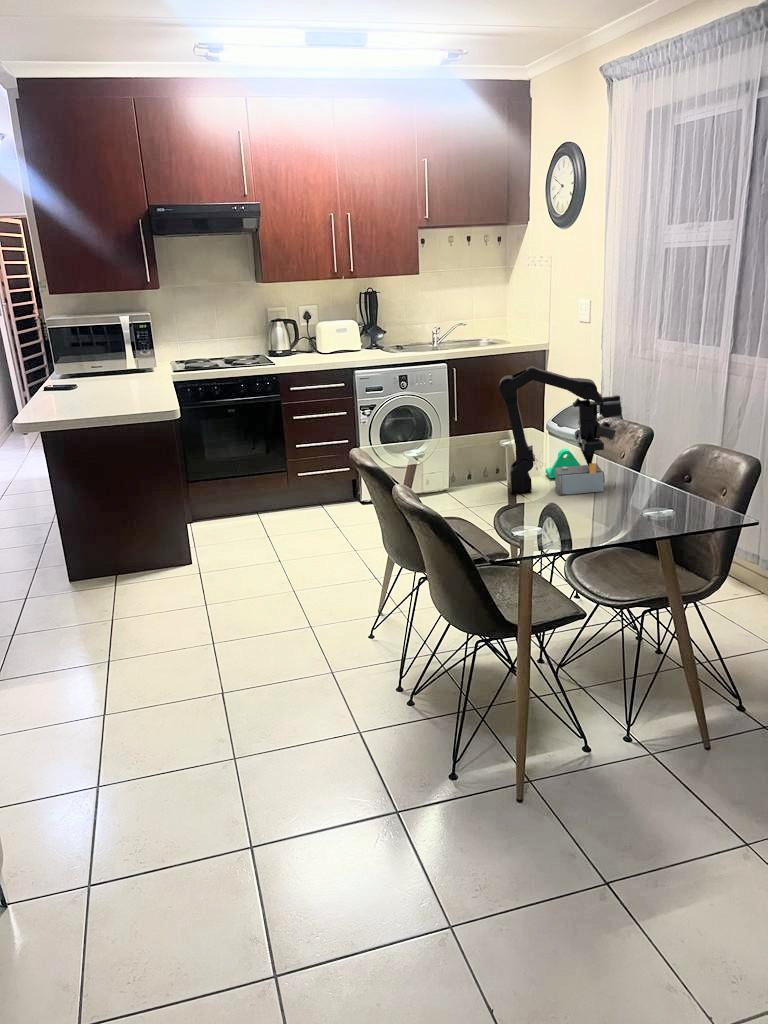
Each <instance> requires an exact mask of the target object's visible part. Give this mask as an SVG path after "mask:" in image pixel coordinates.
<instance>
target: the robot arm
mask: <svg viewBox="0 0 768 1024" xmlns="http://www.w3.org/2000/svg"><path fill="white" fill-rule="evenodd" d="M532 381H535V382H538V383H541V384H544V385H547V386H552V387H555V388H559V389H562V390H566V391H567V392H569V393H572V394H573V395H574V396H576V397H577V398H576V400H575V401H573V403H572V406H573V407H574V408H578V420H577V422H578V424H577V425H578V427H579V428H578V429H577V430H575V432H574V440H577V441H578V440H580V442H577V444H578V447H579V449H580V451H581V453H582V456H583V457H584V459H585V461H586V465H589V464H591V463H593V459H594V456H595V452H596V451H603V450H605V444H604V442H603V441H602V440H601V437H602V438H605V439H608V440H611V441H613V440H614V438H615V435H616V432H617V430H616V429H615V428H614V427H612V426H611V425H610V423H609V422H607V421H603V423H600V422H599V421H598V414H599V416H601V417H602V418H603V419H604V418H605V419H606V418H608V419H609V418H621V417H622V412H623V410H622V408H623V407H622V403H621V396H620V395H613V396H603V395H602V393H600V392H599V391H598V386H597V385H596V383H595V381H593V380H592V379H590V378H581V377H569V376H567V375H563V374H559V373H554V372H552V371H548V370H545V369H541V368H538V367H536V366H535V365H530V366H528V367H527V368H524V369H522V370H520V371H519V372H516V373H514V374H512V375H505V376H503V377H502V378H501V379H500V380H499V385H498V390H499V392H500V395H501V397H502V399H503V401H504V404H505V407H506V409H507V415H508V418H509V422H510V427H511V431H512V435H513V439H514V445H515V461H514V462H512V464H511V465H510V471H509V481H510V484H509V485H510V488H509V490H510V493H511V496H512V495H513V496H514V495H525V494H532V490H533V487H532V486H533V485H532V484H533V483H532V477H531V476H530V473H529V472H530V471H531V470H532V469H533V467H534V462H536V455H535V454H534V447H533V445H529V444H528V443H527V440H526V435H525V434H526V433H525V431H524V425H523V420H522V416H521V411H520V408H519V407H520V406H519V400H518V398H519V397H518V390H519V389H520V388H522V387H524V386H525V385H527V384H528V383H530V382H532ZM578 397H579V398H578ZM580 398H581V399H580ZM582 399H583V400H582Z"/></svg>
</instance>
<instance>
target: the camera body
mask: <svg viewBox="0 0 768 1024" xmlns="http://www.w3.org/2000/svg"><path fill="white" fill-rule="evenodd" d="M580 465H581V464H580ZM596 472H603V481H604V482H605V479H606V478H605V473H604V471H603V470H602V469H601V467H600V466H599V465H598V463H596ZM584 473H589V465H588V464H583V465H581V466H570V467H559V468H555V478H554V482H555V489H556V491H557V490H558V491H557V493H558V492H559V476H562V475H573V474H584Z"/></svg>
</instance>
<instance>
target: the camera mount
mask: <svg viewBox="0 0 768 1024" xmlns="http://www.w3.org/2000/svg"><path fill="white" fill-rule="evenodd" d="M565 455H566V456H565ZM570 466H581V464H580V462H578V460H577V458H576V457H575V456H574V454H573V452H571V451H570V450H568V449H567V448H562V449H560V450H559V451H558V453H557V458H556V460H555V461H554V463H553V465H552V467H547V468H545V474H546V475H547V476H548V477H549V479H555V468H559V467H570Z"/></svg>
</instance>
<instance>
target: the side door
mask: <svg viewBox="0 0 768 1024" xmlns="http://www.w3.org/2000/svg"><path fill="white" fill-rule="evenodd" d="M596 464H597V463H596V462H594V463H593V462H592V463H591V464H589V473H584V474H573V475H562V476H559V493H558V495H559V494H560V495H559V496H563V495H562V494H566V495H576V494H588V493H599V492H604V483H605V481H603V472H604V471H603V472H596Z"/></svg>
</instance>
